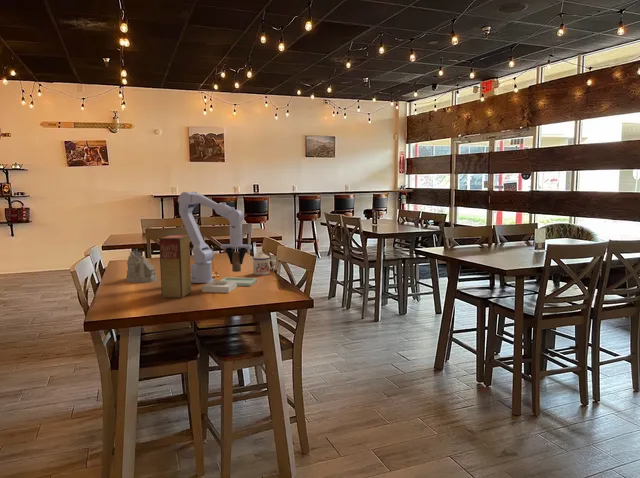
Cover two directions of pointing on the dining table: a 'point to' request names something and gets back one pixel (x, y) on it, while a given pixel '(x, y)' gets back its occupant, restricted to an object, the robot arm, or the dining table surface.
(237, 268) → the walnut pin
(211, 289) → the holder block
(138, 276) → the grey castle model
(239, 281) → the sage tray
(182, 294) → the food packaging
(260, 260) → the teacup with lid
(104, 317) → the dining table surface
